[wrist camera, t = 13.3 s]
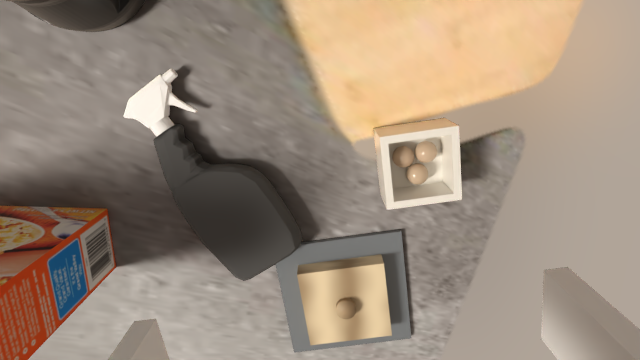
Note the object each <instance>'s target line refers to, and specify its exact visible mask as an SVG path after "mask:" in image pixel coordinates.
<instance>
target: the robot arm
mask: <svg viewBox="0 0 640 360" xmlns="http://www.w3.org/2000/svg"><path fill="white" fill-rule="evenodd" d="M6 1H12V2H14V3H16V4H17V5H19V6H21V7H22V8H24V9H26V10H27V11H28V12H29V13H31V14H32V15H34V16H35V17H37V18H39V19H40V20H42V21H44V22H47V23H49V24H51V25H54V26H57V27H60V28H64V29H68V30H75V31H85V32H98V31H105V30H109V29H112V28H115V27H117V26H119V25H121V24H123V23H125V22H126V21H128V20H129V19H130V18H132V17H133V16H134V15H135V14H136V13H137V12H138V10H139V9H140V8H141V7H142V5H143V4H144V2H145V0H6ZM541 339H542V340H543V341H544V342H545V344H546V345H547V346H548V348H549V349H550V350H551V352H553V354H554V355H555V357H556V358H557V359H558V360H640V329H639V328H638V327H636V326H635V325H634V324H633V323H632V322H631V321H629V320H628V319H627V318H626V317H625V316H624V315H623V314H621V313H620V312H619V311H618V310H617V309H616V308H614V307H613V306H612V305H611V304H610V303H609V302H607V301H606V300H605V299H604V298H603V297H602V296H601V295H599V294H598V293H597V292H596V291H595V290H594V289H592V288H591V287H590V286H589V285H588V284H587V283H586V282H584V281H583V280H582V279H581V278H580V277H579V276H577V275H576V274H575V273H574V272H573V271H572V270H571V269H569V268H568V267H564V268H556V269H548V270H544V280H543V307H542V335H541ZM108 360H169V357H168V354H167V351H166V348H165V345H164V342H163V339H162V336H161V333H160V330H159V327H158V324H157V321H156V319H150V320H142V321H134V323H133V324H132V326H131V327H130V328H129V330H128V331H127V333H126V334H125V336H124V337H123V339H122V340H121V341H120V343H119V344H118V346H117V347H116V349H115V350H114V352H113V353H112V354H111V356H110V357H109V359H108Z"/></svg>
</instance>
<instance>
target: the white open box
mask: <svg viewBox="0 0 640 360" xmlns="http://www.w3.org/2000/svg"><path fill="white" fill-rule="evenodd" d="M373 131H374V140H375V149H376V159H377V168H378V177H379V187H380V194H381V197H382V199H383V201H384V204H385V206H386V208H387V210H389V209H397V208H404V207H411V206H418V205H426V204H433V203H440V202H448V201H455V200H462V187H461V161H460V140H459V139H460V137H459V136H460V135H459V125H457V124H455V123H453V122H451V121H449V120H447V119H445V118H440V119H433V120H426V121H419V122H412V123H406V124H399V125H392V126H385V127H378V128H373Z"/></svg>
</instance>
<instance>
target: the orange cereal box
mask: <svg viewBox="0 0 640 360" xmlns="http://www.w3.org/2000/svg"><path fill="white" fill-rule="evenodd" d="M115 268H116V263H115V256H114V250H113V243H112V237H111V230H110V224H109V217H108V210H107V209H104V208H66V207H28V206H0V360H28V359H29V358H30V357H31V356H32V354H33V353H34V352H35V351H36V350H37V349H38V348H39V347H40V346H41V345H42V344H43V343H44V342H45V341H46V340H47V339H48V338H49V337H50V336H51V335H52V334H53V333H54V331H55V330H56V329H57V328H58V327H59V326H60V325H61V324H62V323H63V322H64V321H65V320H66V319H67V318H68V317H69V316H70V315H71V314H72V313H73V312H74V311H75V310H76V309H77V307H78V306H79V305H80V304H81V303H82V302H83V301H84V300H85V299H86V298H87V297H88V296H89V295H90V294H91V293H92V292H93V291H94V290H95V289H96V288H97V287H98V286H99V284H100V283H101V282H102V281H103V280H104V279H105V278H106V277H107V276H108V275H109V274H110V273H111V272H112V271H113V270H114V269H115Z"/></svg>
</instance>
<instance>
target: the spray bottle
mask: <svg viewBox="0 0 640 360" xmlns="http://www.w3.org/2000/svg"><path fill="white" fill-rule="evenodd" d="M177 76H178V74H177V73H176V72H175V71H174V70H173V69H169V70H168V71H167V72H166V73H164V74H160V75H158V76H157V77H156V78H155V79H153V80H152V81H151V82H150V83H148V84H147V85H146V86H145V87H143V88H142V89H141V90H140V91H138V92H137V93H136V94H135V95H133V96H132V97H131V98H130V99H129V100H128V103H127V107H126V110H125V113H124V117H125V118H132V119H135V120H137V121H139V122H141V123H142V124H144V125H145V126H146V127H147V128H150V129H151V130H152V131H153V133H154V134H155V135H156V138H155V139H154V145H155V148H156V151H157V154H158V157H159V160H160V163H161V166H162V170H163V173H164V176H165V178H166V181H167V183H168V185H169V187H170V189H171V192H172V194H173V197H174V200H175V202H176V203H177V205H178V207H179V208H180V210H181V212H182V214H183V215H184V217H185V219H186V220H187V222H188V223H189V225H190V226H191V227H192V229H193V230H194V231H195V233H196V234H197V236H198V237H199V238H200V240H201V241H202V243H203V244H204V245H205V246H206V247H207V248H208V249H209V250H210V251H211V252H212V253H213V254H214V255H215V256H216V257H217V258H218V259H219V261H220V262H221V263H222V264H223V265H224V266H225V267H226V268H227V269H228V270H229V271H230V272H231V273H232V274H233V275H234V276H235V277H236V278H239V279H241V280H243V281H245V280H248V279H251V278H253V277H254V276H256V275H258V274H259V273H261V272H263V271H265V270H266V269H268V268H270V267H271V266H273V265H275V264H277V263H278V262H280V261H282V260H283V259H285V258H287V257H288V256H290V255H291V254H292V253H293V252H294V251H295V250H296V249H297V248H298V247H299V246H300V243H301V241H302V234H301V231H300V229H299V227H298V225H297V223H296V221H295V219H294V218H293V216H292V214H291V212H290V211H289V209H288V208H287V206H286V205H285V203H284V202H283V200H282V199H281V197H280V196H279V194H278V193H277V191H276V190H275V188H274V187H273V185H272V184H271V183H270V182H269V180H268V179H267V178H266V177H265V176H264V175H263V174H262V173H261V172H259V171H257V170H256V169H254V168H252V167H250V166H246V165H241V164H232V163H229V164H213V165H211V164H209V163H207V162H205V161H203V159H202V157H201V155H200V154H199V153H197V152H196V151H195V148H194V145H193V143H192V142H191V141H189V140H188V139H186V138H185V132H184V126H182V125H180V124H176V125H174V123H173V122H172V121H171V119H170V118H169V117H168V116H169V115H170V105H174V106H177V107H180V108H182V109H185V110H188V111H191V112H195V113H196V112H197V109H195V108H193V107H192V106H190V105H188V104H186V103H185V102H183V101H181V100H180V99H178V98H177V97H176V96H175V95H174V94H173V93H172V85H171V82H172V81H173V80H174V79H175V78H176V77H177Z"/></svg>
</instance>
